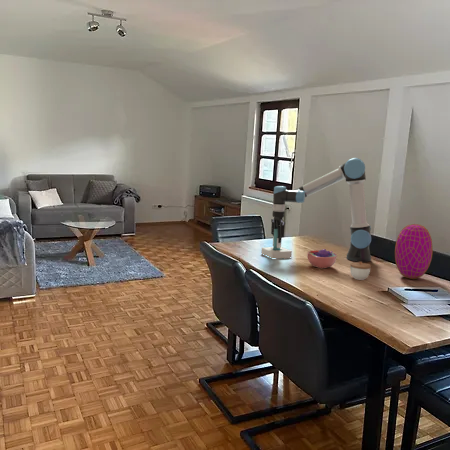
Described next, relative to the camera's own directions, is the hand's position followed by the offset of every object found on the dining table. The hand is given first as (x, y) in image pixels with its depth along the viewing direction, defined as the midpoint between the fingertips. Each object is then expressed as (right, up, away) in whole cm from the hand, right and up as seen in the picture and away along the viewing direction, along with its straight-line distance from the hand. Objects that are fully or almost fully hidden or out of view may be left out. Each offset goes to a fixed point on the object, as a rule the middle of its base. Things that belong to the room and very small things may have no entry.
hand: (276, 246), depth 301 cm
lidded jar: (+40, -15, -45) cm, 62 cm away
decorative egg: (+70, -16, -40) cm, 82 cm away
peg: (0, -3, 0) cm, 3 cm away
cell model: (+24, -11, -23) cm, 35 cm away
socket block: (0, -6, +1) cm, 6 cm away
